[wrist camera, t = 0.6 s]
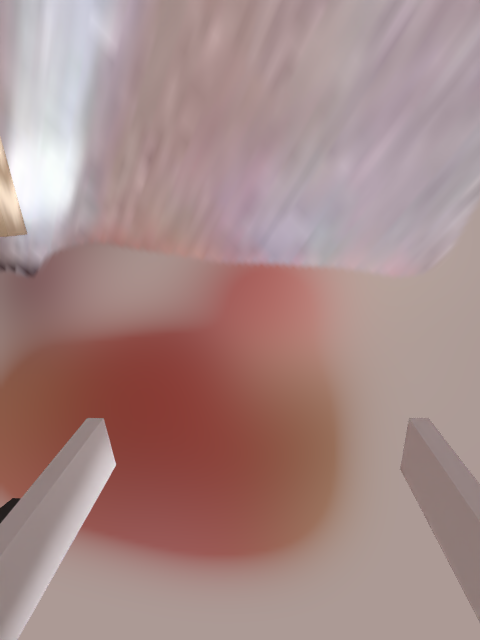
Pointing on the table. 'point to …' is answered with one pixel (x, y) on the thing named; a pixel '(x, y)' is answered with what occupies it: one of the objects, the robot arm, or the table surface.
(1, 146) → the plate
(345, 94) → the table surface
